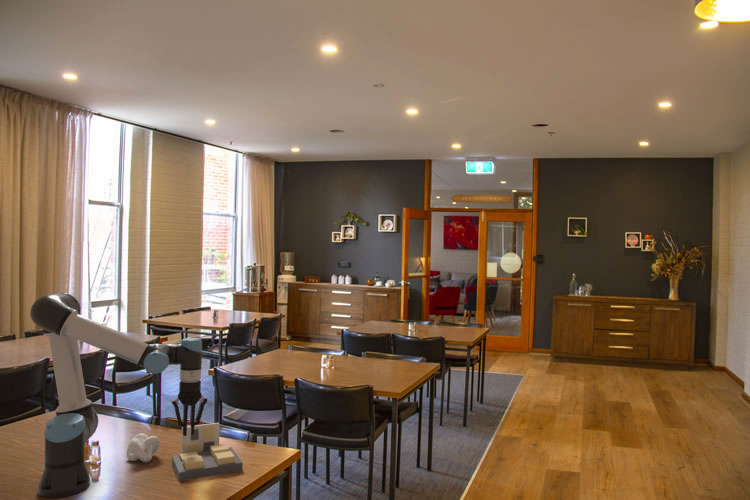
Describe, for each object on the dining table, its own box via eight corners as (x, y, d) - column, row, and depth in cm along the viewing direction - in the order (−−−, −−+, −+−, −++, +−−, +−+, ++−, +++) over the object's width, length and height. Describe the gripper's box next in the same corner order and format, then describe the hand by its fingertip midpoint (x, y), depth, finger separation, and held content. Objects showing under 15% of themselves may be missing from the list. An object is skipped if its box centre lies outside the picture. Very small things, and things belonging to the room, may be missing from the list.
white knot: (117, 462, 212) (117, 438, 212) (140, 452, 223) (140, 429, 223) (141, 467, 208) (141, 442, 208) (163, 456, 219) (164, 433, 219)
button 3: (212, 458, 211) (213, 450, 211) (209, 453, 216) (209, 445, 216) (229, 456, 213) (229, 448, 213) (225, 451, 219) (225, 443, 219)
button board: (179, 481, 195) (179, 446, 195) (170, 460, 215) (170, 428, 215) (242, 470, 205) (242, 437, 205) (228, 451, 225) (229, 421, 225)
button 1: (182, 467, 206) (182, 459, 206) (179, 462, 211) (179, 453, 211) (199, 464, 208) (199, 456, 208) (196, 459, 214) (196, 451, 214)
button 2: (185, 472, 198) (186, 463, 198) (183, 466, 203) (183, 458, 203) (203, 469, 200) (203, 460, 200) (200, 463, 206) (200, 455, 206)
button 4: (217, 467, 203) (218, 458, 203) (214, 461, 208) (214, 453, 208) (234, 464, 205) (234, 456, 205) (230, 459, 211) (231, 451, 211)
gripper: (173, 383, 204) (170, 449, 203) (210, 381, 209) (207, 445, 209) (170, 379, 210) (167, 443, 210) (206, 377, 216) (204, 439, 216)
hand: (187, 444), depth 210 cm, fingers closed
